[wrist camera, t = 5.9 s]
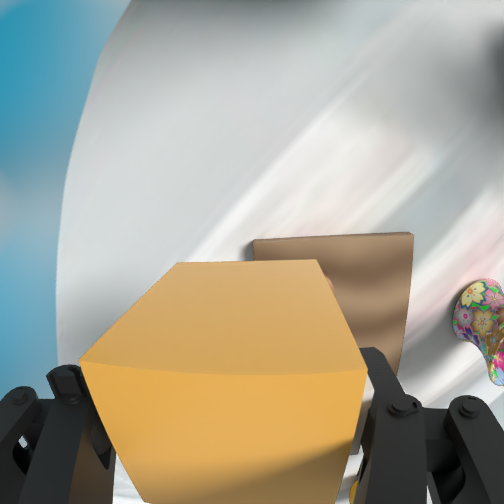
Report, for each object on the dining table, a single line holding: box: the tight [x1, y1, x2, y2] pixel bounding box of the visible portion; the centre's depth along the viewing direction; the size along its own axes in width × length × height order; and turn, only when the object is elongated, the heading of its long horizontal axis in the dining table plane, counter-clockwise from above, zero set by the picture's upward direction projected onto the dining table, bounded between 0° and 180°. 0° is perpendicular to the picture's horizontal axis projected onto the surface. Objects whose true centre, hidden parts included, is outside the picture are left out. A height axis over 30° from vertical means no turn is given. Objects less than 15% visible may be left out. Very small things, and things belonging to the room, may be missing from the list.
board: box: [253, 232, 414, 376], centre depth 28 cm, size 18×16×8 cm
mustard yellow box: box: [79, 259, 368, 504], centre depth 10 cm, size 6×6×8 cm
